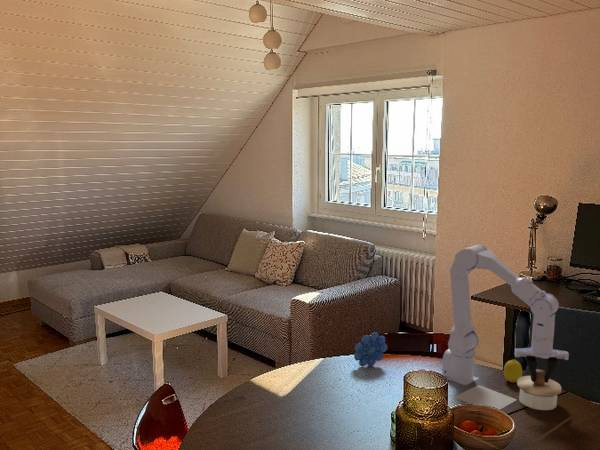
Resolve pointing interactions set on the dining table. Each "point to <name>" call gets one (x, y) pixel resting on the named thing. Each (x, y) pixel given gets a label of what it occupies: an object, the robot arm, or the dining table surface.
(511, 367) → the lemon
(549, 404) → the bowl
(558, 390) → the lid
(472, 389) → the mat
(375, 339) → the grapes
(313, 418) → the dining table surface
